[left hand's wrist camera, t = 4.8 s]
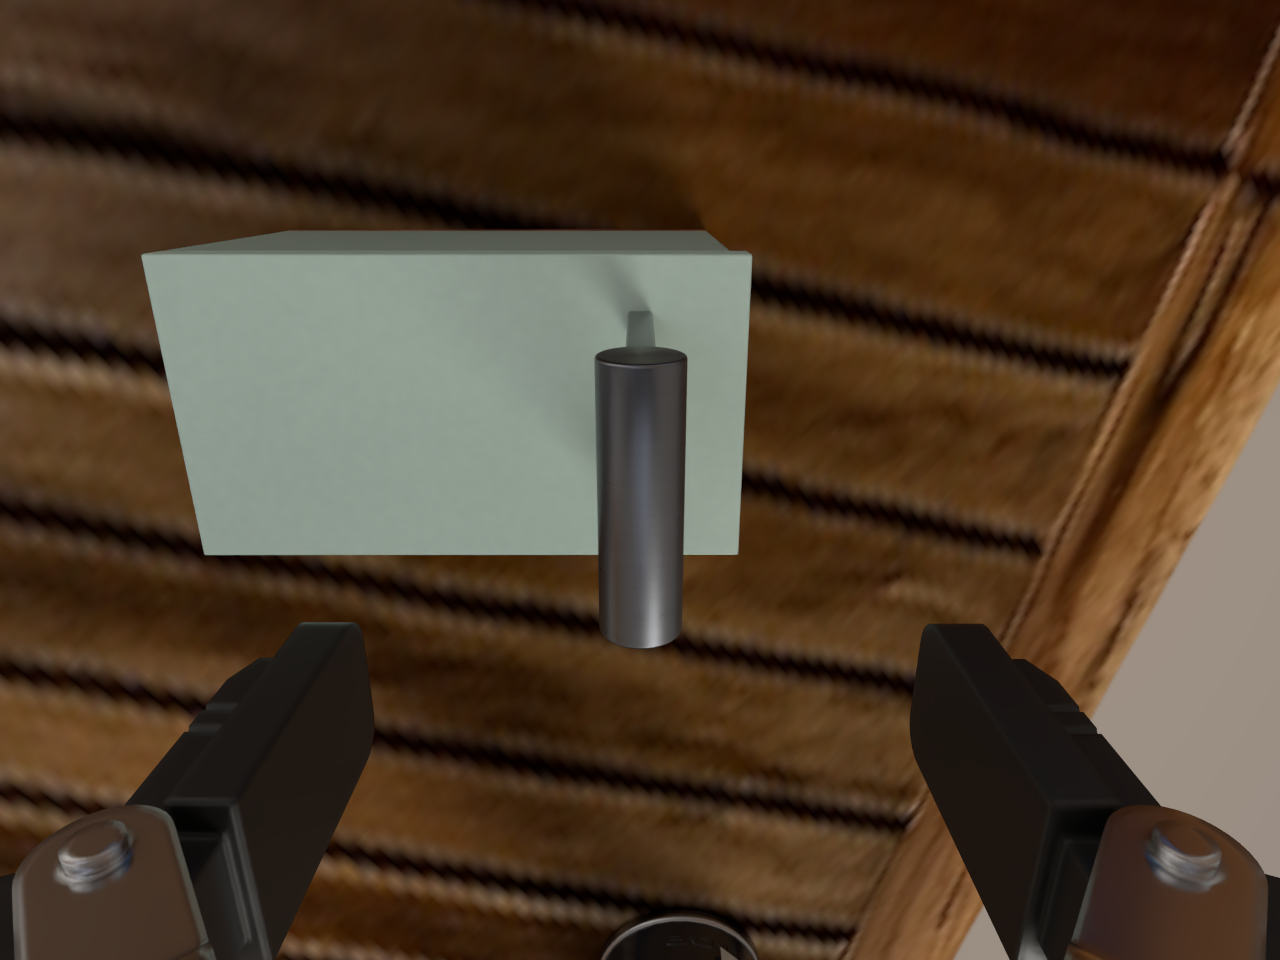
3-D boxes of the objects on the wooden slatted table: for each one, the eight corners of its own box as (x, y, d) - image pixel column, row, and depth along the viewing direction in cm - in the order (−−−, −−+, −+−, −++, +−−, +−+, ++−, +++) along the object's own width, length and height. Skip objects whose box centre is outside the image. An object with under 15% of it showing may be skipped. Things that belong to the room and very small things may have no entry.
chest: (705, 229, 33) (731, 250, 24) (699, 448, 36) (720, 541, 27) (294, 229, 33) (160, 250, 24) (326, 448, 36) (219, 541, 27)
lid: (748, 250, 24) (806, 291, 15) (734, 541, 27) (776, 703, 19) (159, 250, 24) (-96, 291, 15) (219, 542, 27) (34, 703, 19)
